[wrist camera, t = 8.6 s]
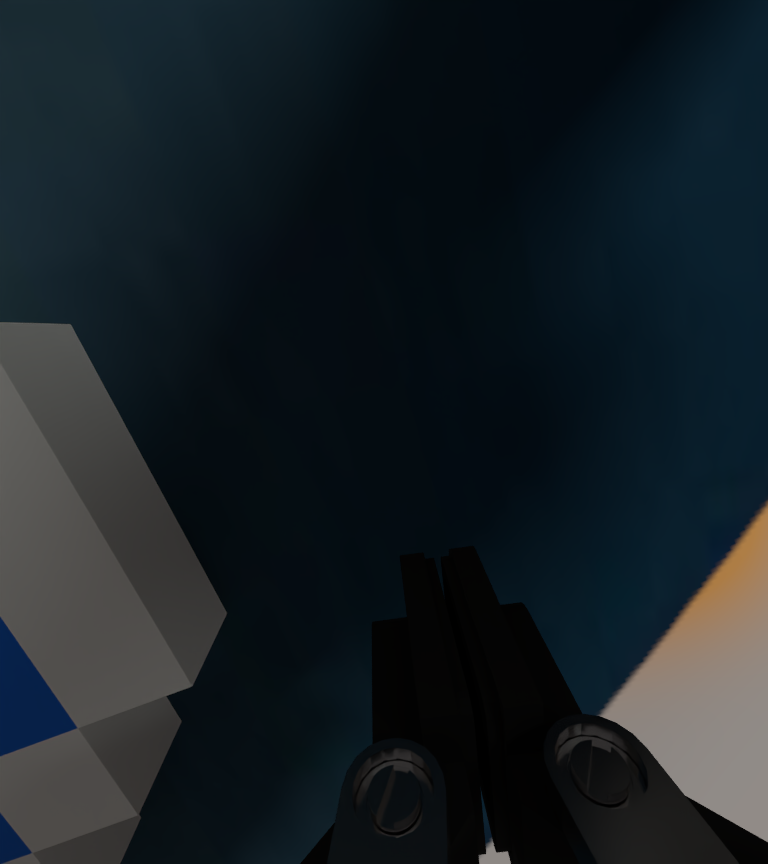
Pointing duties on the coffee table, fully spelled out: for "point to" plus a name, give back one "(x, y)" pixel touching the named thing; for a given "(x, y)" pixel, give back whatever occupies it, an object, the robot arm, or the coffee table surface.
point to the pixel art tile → (84, 609)
